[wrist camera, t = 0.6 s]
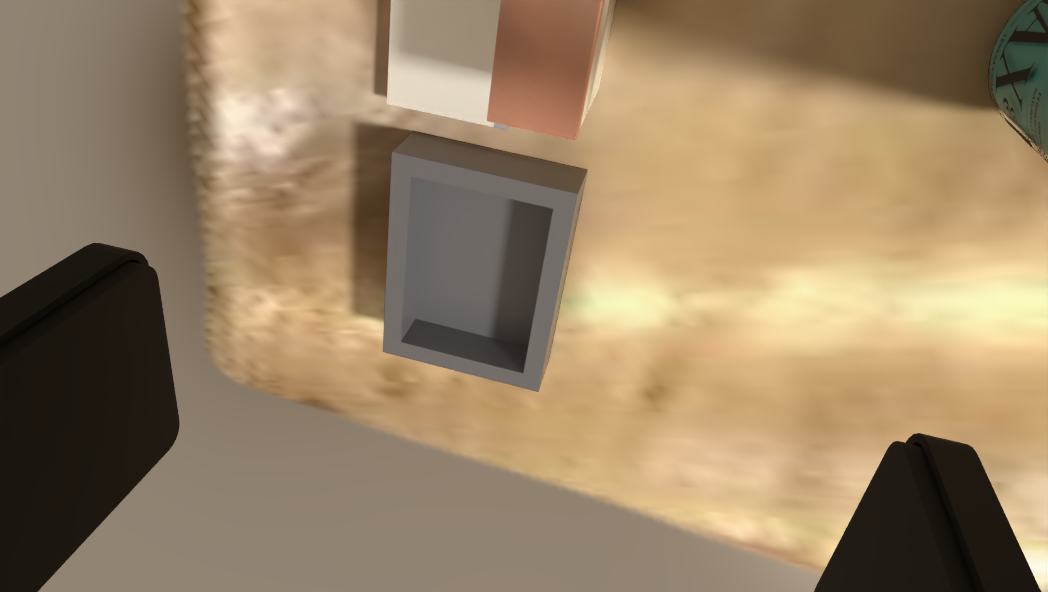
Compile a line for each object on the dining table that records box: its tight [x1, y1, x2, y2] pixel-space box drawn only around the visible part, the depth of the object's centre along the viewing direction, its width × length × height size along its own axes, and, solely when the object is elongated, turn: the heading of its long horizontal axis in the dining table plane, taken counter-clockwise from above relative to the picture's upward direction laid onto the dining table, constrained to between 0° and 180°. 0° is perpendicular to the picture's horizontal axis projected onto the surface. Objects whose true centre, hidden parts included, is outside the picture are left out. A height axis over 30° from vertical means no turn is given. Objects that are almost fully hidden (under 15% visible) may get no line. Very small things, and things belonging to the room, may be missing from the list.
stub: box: [487, 0, 616, 140], centre depth 30 cm, size 7×4×7 cm, turn 171°
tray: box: [383, 131, 587, 392], centre depth 39 cm, size 12×9×3 cm
